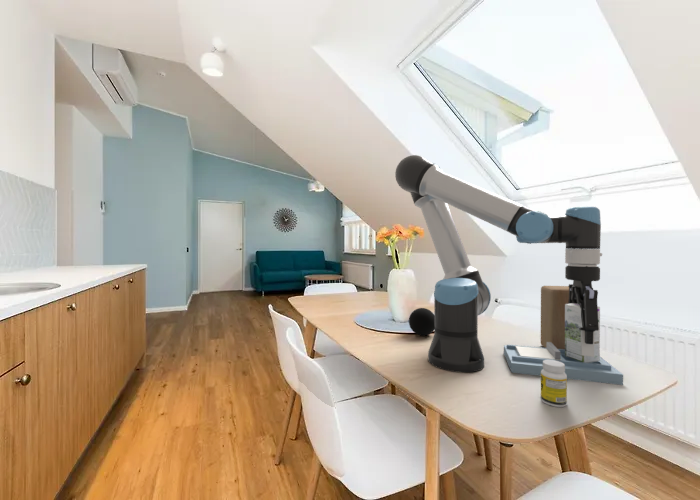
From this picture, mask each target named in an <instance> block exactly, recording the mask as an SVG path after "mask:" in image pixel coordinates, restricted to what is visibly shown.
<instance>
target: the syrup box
mask: <svg viewBox="0 0 700 500" xmlns="http://www.w3.org/2000/svg"><path fill="white" fill-rule="evenodd" d="M597 307H598V326H599V330H598V331H597V330H595V331H594V357H592V356H582V355H581V330H579V328H582V320H581V308H580V305H579V304H578V303H570V304H565V356H566V357H569V358H572V359H574V360H577V361H580V362H585V363H591V362H597V361H600V357H601V350H600V348H601V343H600V342H601V341H600V340H601V339H600V337H601V307H600V306H598V305H597Z"/></svg>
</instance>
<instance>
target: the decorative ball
mask: <svg viewBox="0 0 700 500" xmlns="http://www.w3.org/2000/svg"><path fill="white" fill-rule="evenodd" d="M408 325H409V328H410V329H411V331H413V333H414V334H416V335H418V336H428V335H431V334H432V333H433V332H435V317H434V312H432V311H431V310H430V309H428V308H424V307H419V308H416V309H414V310H413V311H412V312H411V313H410V315H409V318H408Z"/></svg>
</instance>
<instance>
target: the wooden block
mask: <svg viewBox="0 0 700 500" xmlns="http://www.w3.org/2000/svg"><path fill="white" fill-rule="evenodd" d="M568 300H569V285H543V286H542V285H541V287H540V345H541V346H542V348H546V344H547V342H552V344H553V345H554V346H555V347H556V348H557V349H565V304H568Z"/></svg>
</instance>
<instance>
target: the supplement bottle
mask: <svg viewBox="0 0 700 500" xmlns="http://www.w3.org/2000/svg"><path fill="white" fill-rule="evenodd" d="M564 372H565V364H564V363H562V362H559V361H555V360H544V361H543V369H542V370H541V376H540V399H541V401H542V403H544V404H546V405H548V406H551V407H555V408H563V407H566V406H567V405H568V393H567V392H568V379H567V375H566V374H565V373H564Z"/></svg>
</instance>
